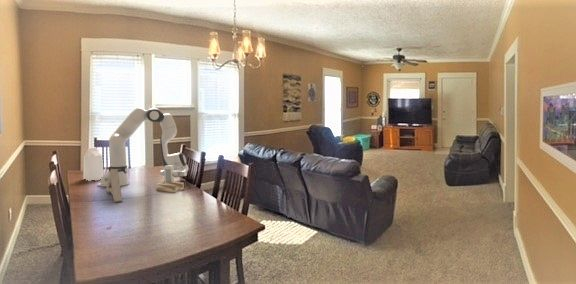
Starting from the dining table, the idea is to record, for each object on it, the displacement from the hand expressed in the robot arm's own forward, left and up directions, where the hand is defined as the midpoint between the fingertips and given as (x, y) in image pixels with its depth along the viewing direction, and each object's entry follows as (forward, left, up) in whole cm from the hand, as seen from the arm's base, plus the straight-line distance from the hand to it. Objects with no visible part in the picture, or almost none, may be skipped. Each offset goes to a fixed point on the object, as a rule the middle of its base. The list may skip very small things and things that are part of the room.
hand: (168, 174), depth 300 cm
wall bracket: (-26, -34, -9) cm, 44 cm away
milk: (-70, +24, -9) cm, 74 cm away
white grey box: (0, +1, -9) cm, 9 cm away
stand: (+5, -12, -9) cm, 16 cm away
